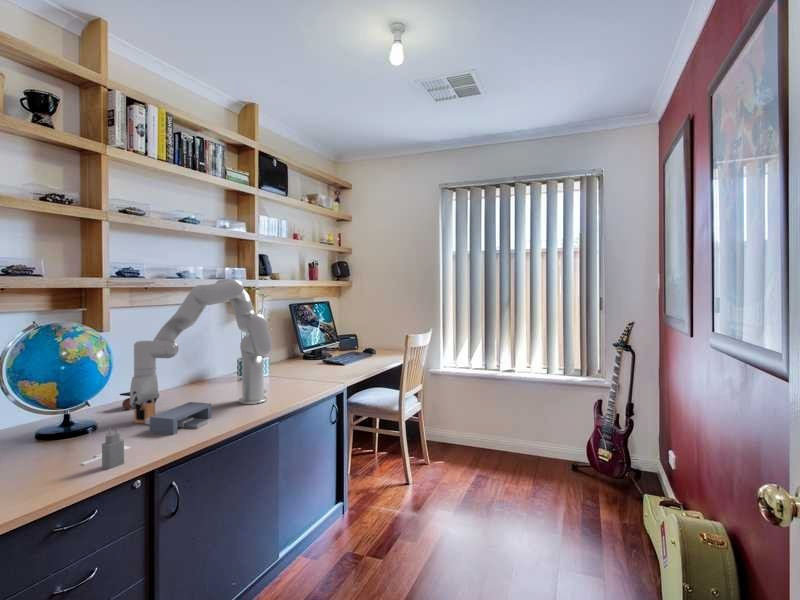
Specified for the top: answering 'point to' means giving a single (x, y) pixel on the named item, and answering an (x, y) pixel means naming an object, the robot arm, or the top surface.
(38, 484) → the top surface
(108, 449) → the power adapter
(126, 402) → the figurine character
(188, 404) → the riser shelf
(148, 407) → the scraper tool
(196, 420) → the steel token
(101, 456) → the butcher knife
